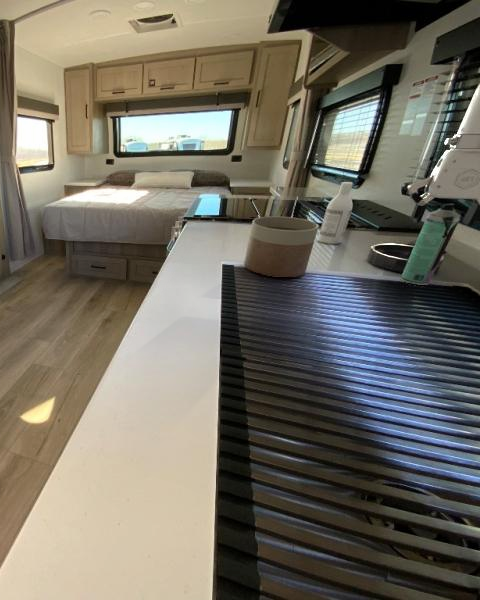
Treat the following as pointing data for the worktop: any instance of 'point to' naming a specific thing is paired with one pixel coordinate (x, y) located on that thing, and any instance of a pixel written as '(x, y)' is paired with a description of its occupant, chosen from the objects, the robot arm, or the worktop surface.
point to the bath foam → (337, 216)
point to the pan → (393, 256)
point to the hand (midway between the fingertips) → (441, 222)
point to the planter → (280, 246)
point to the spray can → (430, 245)
